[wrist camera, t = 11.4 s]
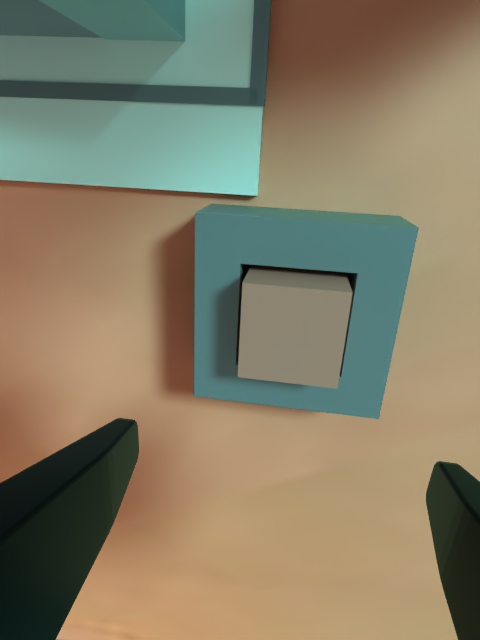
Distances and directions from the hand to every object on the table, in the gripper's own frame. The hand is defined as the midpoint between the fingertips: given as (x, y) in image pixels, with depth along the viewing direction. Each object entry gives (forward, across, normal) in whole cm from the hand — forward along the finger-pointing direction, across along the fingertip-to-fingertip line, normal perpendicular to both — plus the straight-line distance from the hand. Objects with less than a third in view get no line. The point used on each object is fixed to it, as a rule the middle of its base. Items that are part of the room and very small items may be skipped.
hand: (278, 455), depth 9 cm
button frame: (+11, 0, 0) cm, 11 cm away
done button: (+10, 0, 0) cm, 10 cm away
